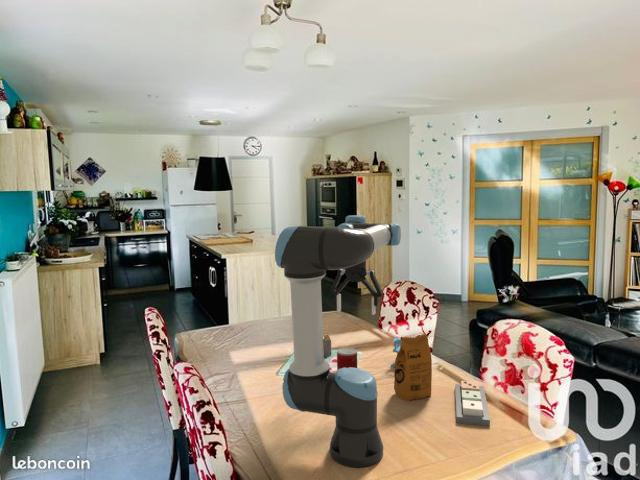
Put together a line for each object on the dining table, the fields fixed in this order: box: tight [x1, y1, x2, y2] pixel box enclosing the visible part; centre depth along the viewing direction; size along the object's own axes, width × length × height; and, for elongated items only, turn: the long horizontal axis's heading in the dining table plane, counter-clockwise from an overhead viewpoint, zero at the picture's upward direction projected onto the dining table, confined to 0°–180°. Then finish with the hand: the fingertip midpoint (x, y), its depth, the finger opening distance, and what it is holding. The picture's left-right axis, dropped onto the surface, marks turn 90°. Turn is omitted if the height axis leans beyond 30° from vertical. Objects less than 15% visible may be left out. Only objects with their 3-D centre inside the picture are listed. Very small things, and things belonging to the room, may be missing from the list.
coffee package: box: [393, 332, 433, 402], centre depth 173 cm, size 10×12×22 cm
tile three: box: [460, 380, 480, 394], centre depth 172 cm, size 6×6×3 cm
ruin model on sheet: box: [323, 333, 332, 358], centre depth 213 cm, size 11×3×10 cm, turn 115°
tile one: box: [461, 400, 483, 417], centre depth 156 cm, size 6×6×3 cm
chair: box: [390, 337, 402, 369], centre depth 202 cm, size 8×8×12 cm
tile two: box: [461, 390, 481, 404], centre depth 164 cm, size 6×6×3 cm
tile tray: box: [454, 383, 491, 427], centre depth 164 cm, size 26×10×2 cm, turn 166°
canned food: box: [336, 347, 358, 371], centre depth 190 cm, size 8×8×11 cm
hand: (356, 312), depth 181 cm, fingers open, 13 cm apart
